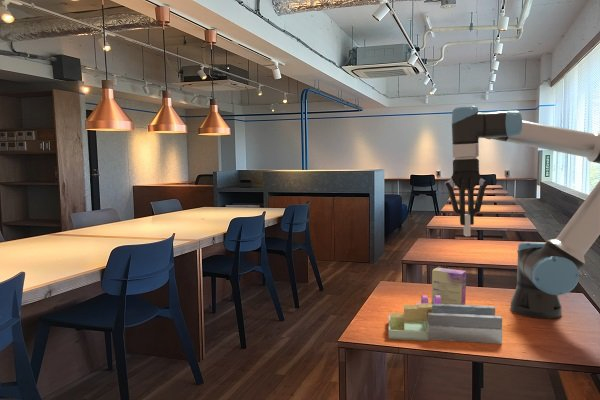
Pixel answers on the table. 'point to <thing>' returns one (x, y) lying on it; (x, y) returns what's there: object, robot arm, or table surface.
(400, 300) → the table surface
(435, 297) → the bracket
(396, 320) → the khaki cube
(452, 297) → the box
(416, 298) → the table surface
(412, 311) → the tan cube
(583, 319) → the table surface
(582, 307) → the table surface
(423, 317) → the beige cube
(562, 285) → the robot arm
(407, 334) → the tray
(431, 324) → the channel
